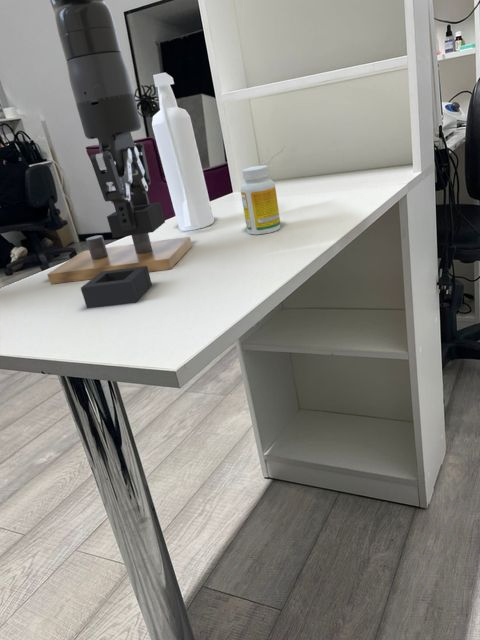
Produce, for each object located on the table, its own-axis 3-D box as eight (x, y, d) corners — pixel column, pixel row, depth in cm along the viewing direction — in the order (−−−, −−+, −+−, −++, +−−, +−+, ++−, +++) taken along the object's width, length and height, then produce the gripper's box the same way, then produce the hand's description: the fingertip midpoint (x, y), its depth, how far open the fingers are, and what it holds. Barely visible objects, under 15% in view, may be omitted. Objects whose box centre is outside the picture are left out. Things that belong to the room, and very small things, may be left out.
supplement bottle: (241, 235, 85) (229, 172, 81) (260, 226, 89) (250, 165, 85) (268, 235, 82) (258, 170, 78) (287, 225, 86) (278, 163, 82)
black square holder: (112, 238, 76) (106, 216, 74) (127, 227, 81) (122, 207, 80) (153, 232, 75) (147, 210, 73) (165, 222, 80) (160, 201, 79)
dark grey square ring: (88, 312, 62) (80, 287, 61) (107, 294, 67) (101, 271, 66) (137, 306, 61) (130, 281, 60) (153, 289, 66) (147, 265, 65)
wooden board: (50, 284, 77) (40, 253, 75) (85, 259, 87) (77, 232, 85) (171, 269, 73) (163, 236, 71) (192, 245, 84) (185, 217, 82)
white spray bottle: (170, 238, 92) (131, 75, 82) (182, 223, 103) (149, 78, 92) (208, 232, 91) (175, 67, 81) (216, 217, 102) (188, 70, 92)
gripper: (99, 100, 77) (130, 216, 84) (52, 103, 65) (93, 240, 72) (148, 90, 76) (176, 210, 83) (110, 91, 63) (146, 232, 70)
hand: (137, 223), depth 77 cm, fingers closed on black square holder, 6 cm apart
